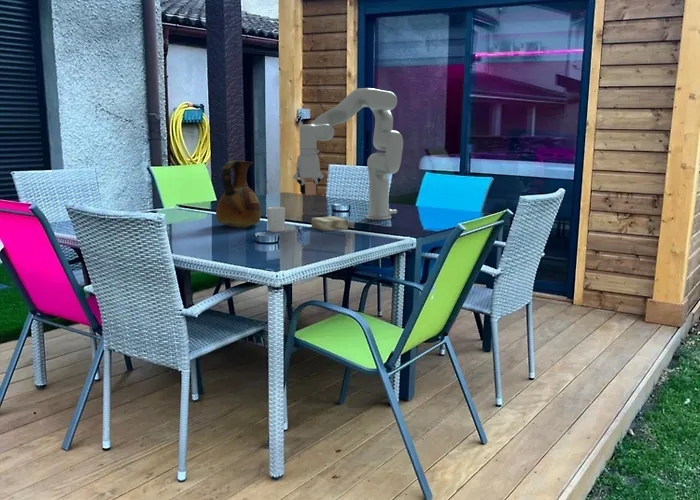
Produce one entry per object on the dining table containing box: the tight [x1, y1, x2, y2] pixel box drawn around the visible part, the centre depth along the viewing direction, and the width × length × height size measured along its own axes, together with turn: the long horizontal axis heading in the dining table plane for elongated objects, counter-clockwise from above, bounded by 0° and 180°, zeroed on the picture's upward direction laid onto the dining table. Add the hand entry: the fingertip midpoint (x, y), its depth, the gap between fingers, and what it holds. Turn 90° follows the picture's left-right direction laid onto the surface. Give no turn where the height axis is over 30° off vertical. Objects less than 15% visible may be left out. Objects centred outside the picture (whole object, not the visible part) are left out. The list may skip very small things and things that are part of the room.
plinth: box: [311, 215, 349, 232], centre depth 301 cm, size 12×12×4 cm
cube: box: [302, 181, 317, 196], centre depth 302 cm, size 5×5×5 cm
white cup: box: [266, 206, 286, 233], centre depth 293 cm, size 8×8×10 cm
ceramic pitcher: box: [215, 159, 262, 228], centre depth 300 cm, size 20×20×30 cm
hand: (308, 193), depth 302 cm, fingers closed on cube, 4 cm apart
